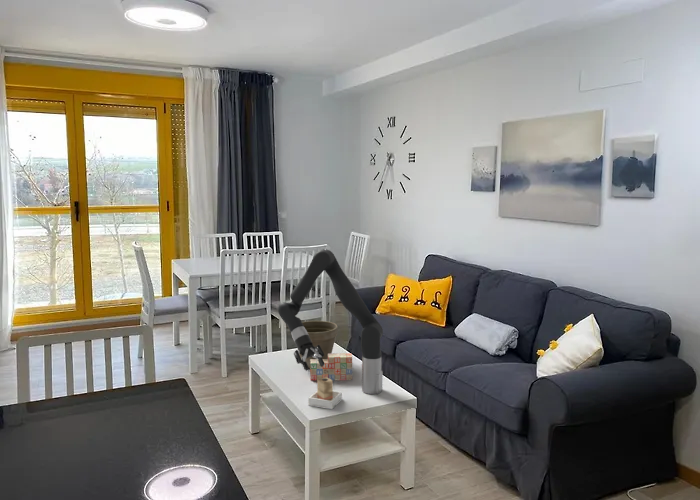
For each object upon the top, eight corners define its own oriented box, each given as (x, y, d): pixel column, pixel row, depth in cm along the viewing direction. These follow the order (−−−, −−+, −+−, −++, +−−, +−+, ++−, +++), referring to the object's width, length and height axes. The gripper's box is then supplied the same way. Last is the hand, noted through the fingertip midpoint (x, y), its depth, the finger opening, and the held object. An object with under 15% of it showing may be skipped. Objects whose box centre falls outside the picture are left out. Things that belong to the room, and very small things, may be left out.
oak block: (326, 397, 257) (326, 376, 256) (332, 401, 253) (332, 380, 252) (317, 400, 254) (317, 379, 253) (323, 403, 250) (323, 382, 249)
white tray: (341, 399, 257) (341, 392, 257) (331, 409, 247) (331, 401, 246) (319, 395, 261) (319, 388, 261) (308, 405, 251) (308, 397, 250)
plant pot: (286, 360, 311) (286, 322, 308) (328, 354, 320) (327, 318, 317) (300, 375, 288) (300, 334, 285) (344, 368, 297) (344, 329, 294)
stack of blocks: (310, 380, 280) (310, 357, 278) (310, 376, 286) (310, 353, 285) (352, 380, 282) (352, 356, 280) (351, 375, 288) (351, 352, 286)
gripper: (291, 336, 258) (305, 367, 251) (316, 331, 267) (331, 360, 260) (285, 345, 263) (299, 375, 256) (310, 339, 272) (324, 368, 265)
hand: (315, 367), depth 258 cm, fingers open, 8 cm apart
